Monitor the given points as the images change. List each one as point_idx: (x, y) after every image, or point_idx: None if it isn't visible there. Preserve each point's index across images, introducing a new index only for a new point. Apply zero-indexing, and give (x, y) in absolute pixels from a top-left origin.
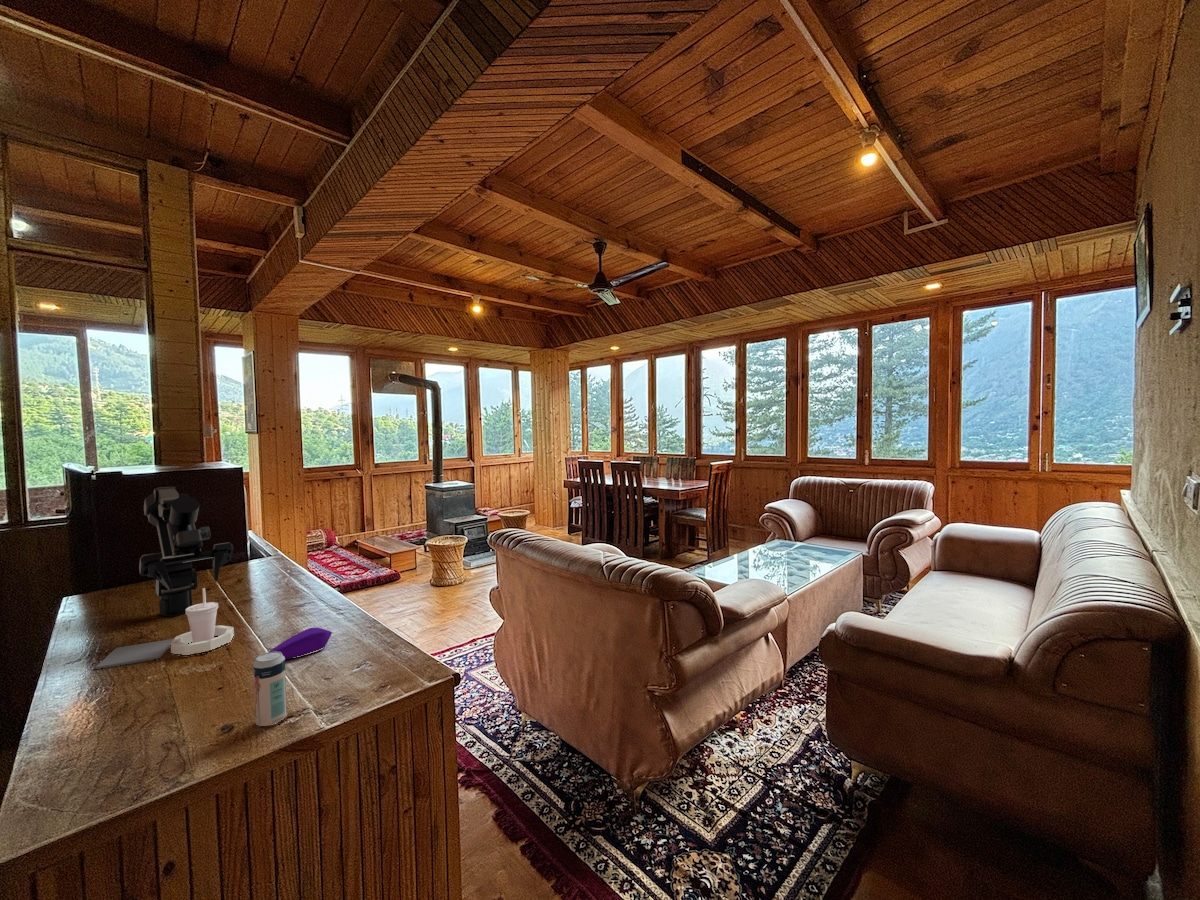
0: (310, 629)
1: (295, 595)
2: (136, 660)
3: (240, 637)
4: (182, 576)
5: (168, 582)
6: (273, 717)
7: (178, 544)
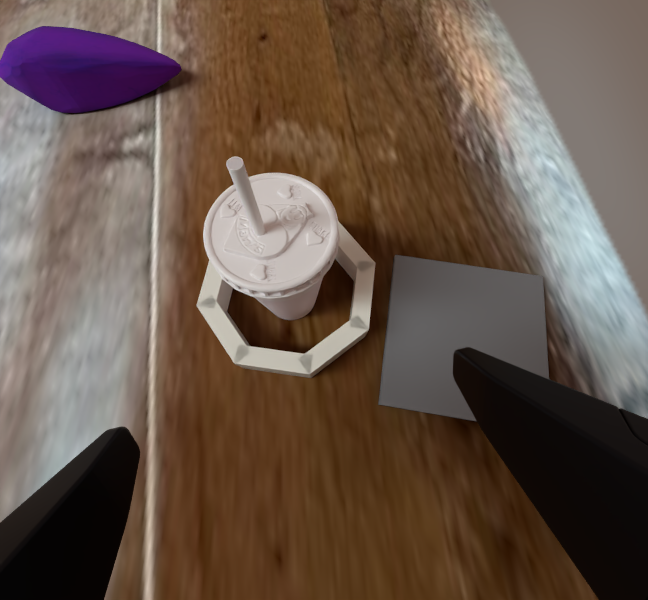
0: (31, 48)
1: None
2: (448, 263)
3: (194, 296)
4: None
5: (510, 374)
6: None
7: None
